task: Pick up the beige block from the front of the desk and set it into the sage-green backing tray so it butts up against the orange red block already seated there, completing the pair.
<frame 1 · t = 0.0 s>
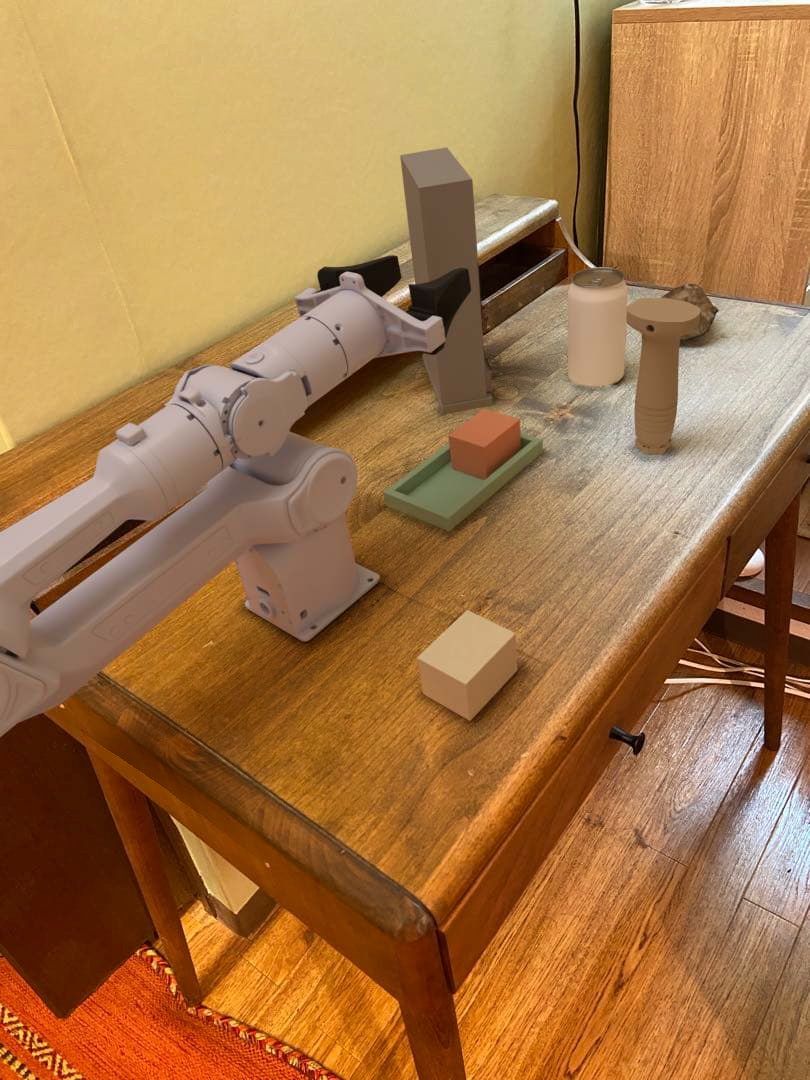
hand: (430, 272, 70), 22 cm above the table, tool horizontal, fingers open, 7 cm apart
tall grey pillar: (457, 387, 99), on the table
orange red block: (486, 460, 84), resting on backing tray
handle: (652, 452, 83), on the table
can: (595, 377, 97), on the table
backing tray: (466, 481, 83), on the table
beige block: (470, 682, 62), on the table
fossilized seashell: (679, 332, 103), on the table
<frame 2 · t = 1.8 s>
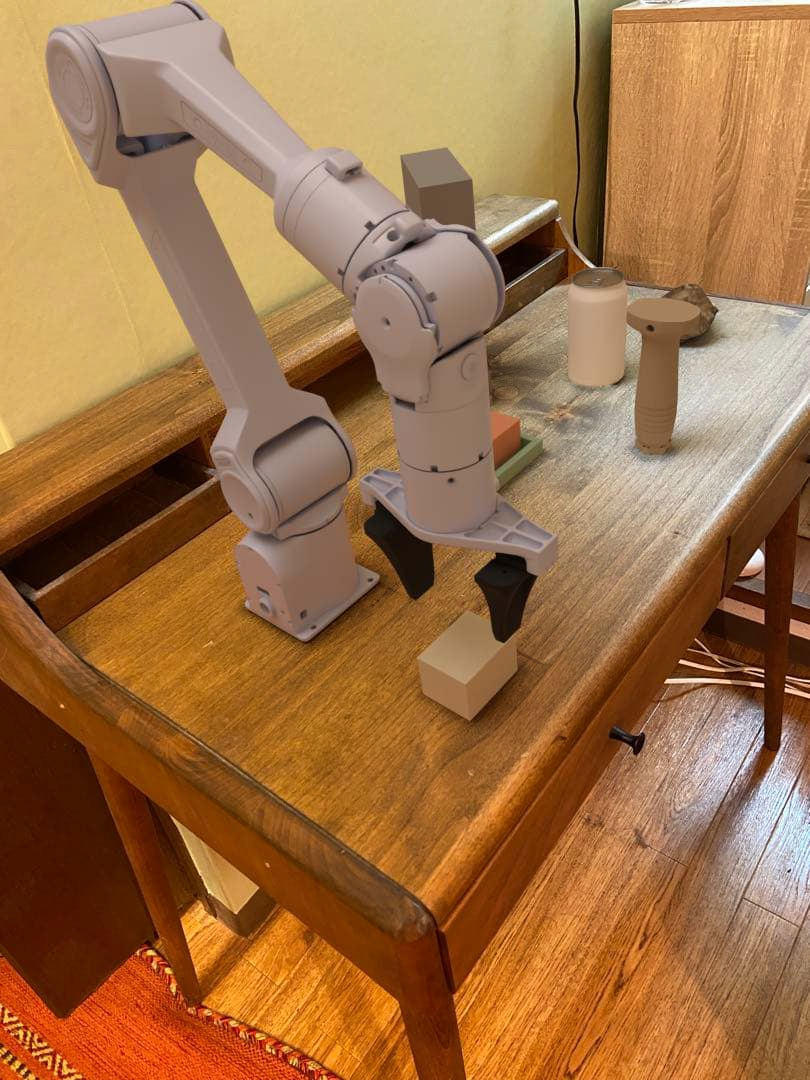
hand: (463, 611, 57), 7 cm above the table, tool pointing down, fingers open, 7 cm apart
nothing on the table moved.
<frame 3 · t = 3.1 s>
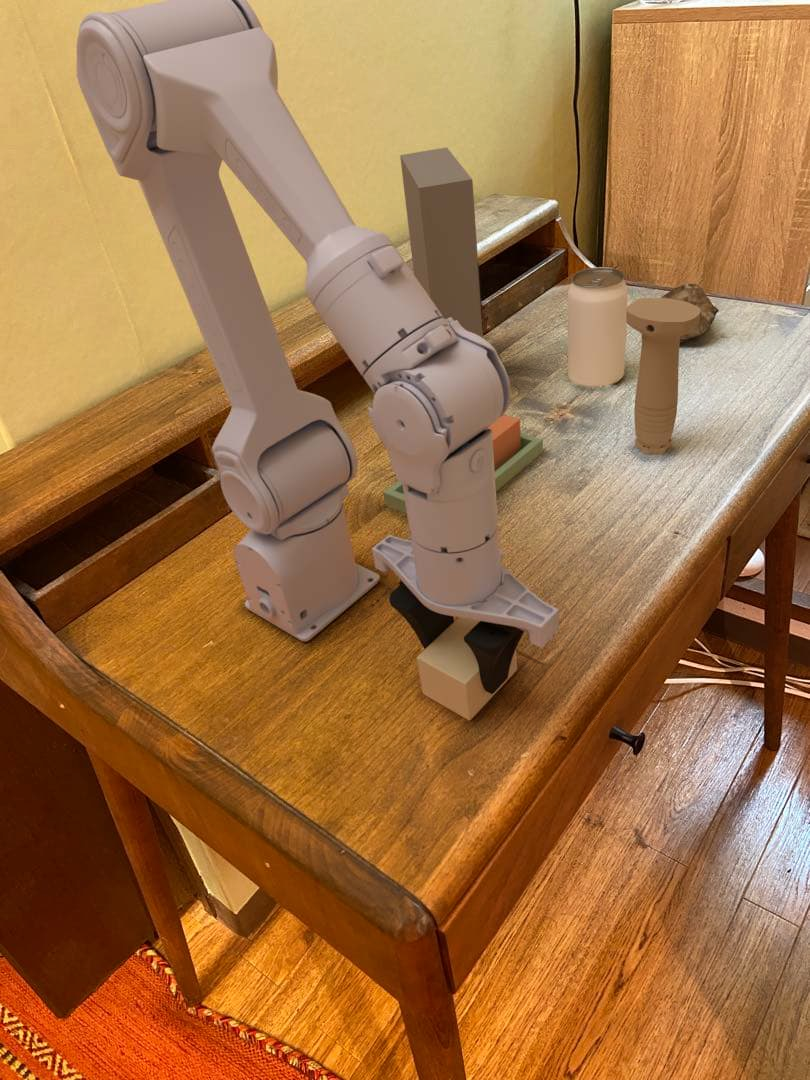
hand: (469, 669, 61), 1 cm above the table, tool pointing down, fingers closed on beige block, 4 cm apart
beige block: (470, 681, 62), on the table, touching gripper
everything else where it was.
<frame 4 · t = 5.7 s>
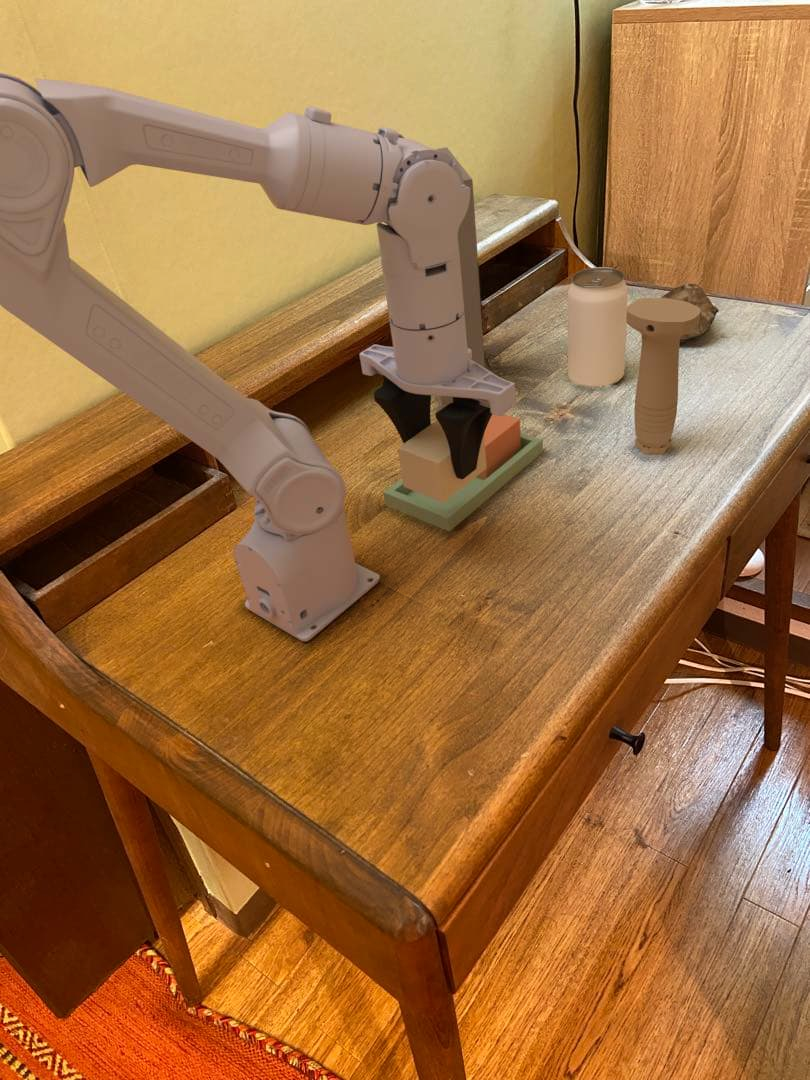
hand: (443, 464, 70), 8 cm above the table, tool pointing down, fingers closed on beige block, 4 cm apart
beige block: (445, 477, 71), point 7 cm above the table, touching gripper
everything else where it was.
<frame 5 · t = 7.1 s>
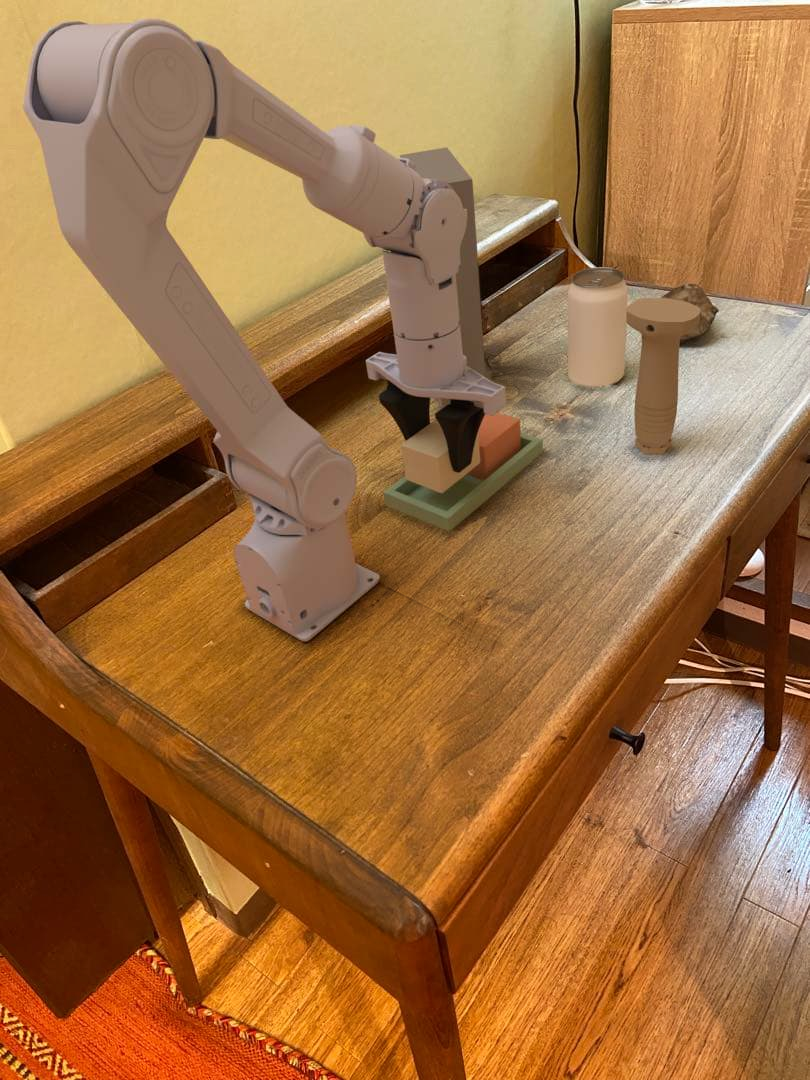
hand: (441, 459, 78), 4 cm above the table, tool pointing down, fingers closed on beige block, 4 cm apart
beige block: (443, 471, 79), point 3 cm above the table, touching gripper
everything else where it was.
when the fingers open (2 cm above the table, at t = 8.6 s): beige block stays where it is, resting on backing tray.
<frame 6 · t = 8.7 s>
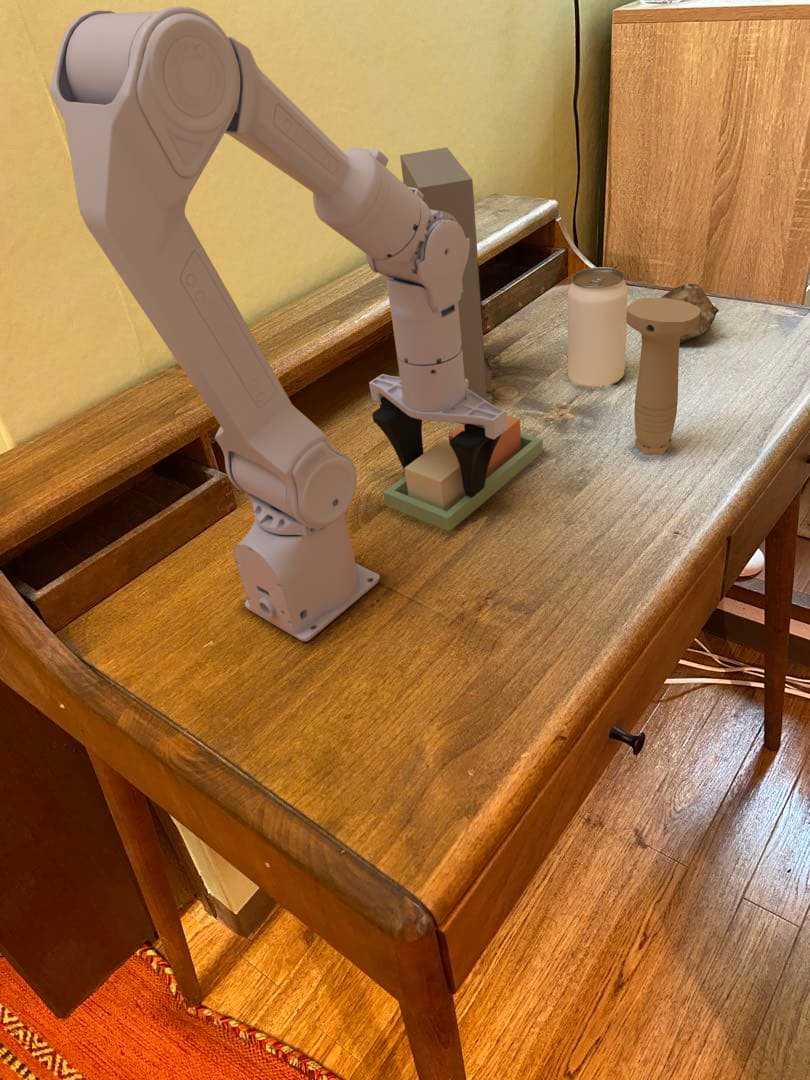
hand: (443, 479, 80), 2 cm above the table, tool pointing down, fingers open, 7 cm apart
beige block: (445, 493, 81), resting on backing tray
everything else where it was.
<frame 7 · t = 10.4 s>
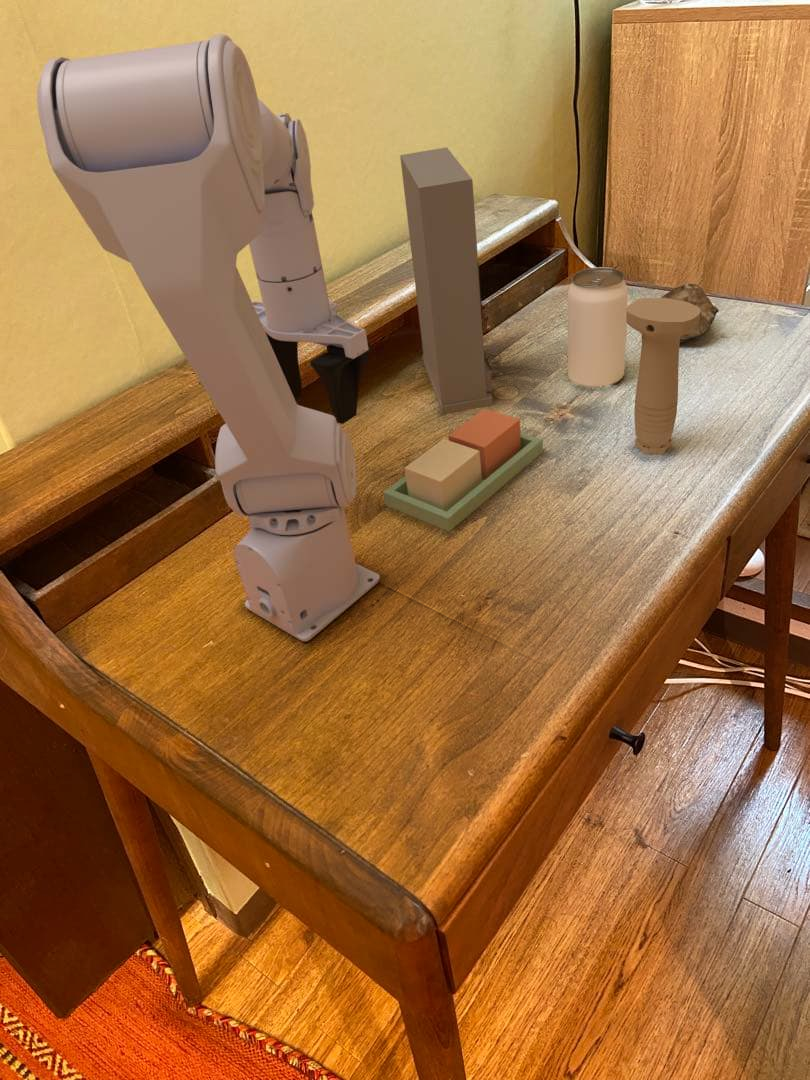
hand: (318, 408, 79), 9 cm above the table, tool pointing down, fingers open, 7 cm apart
nothing on the table moved.
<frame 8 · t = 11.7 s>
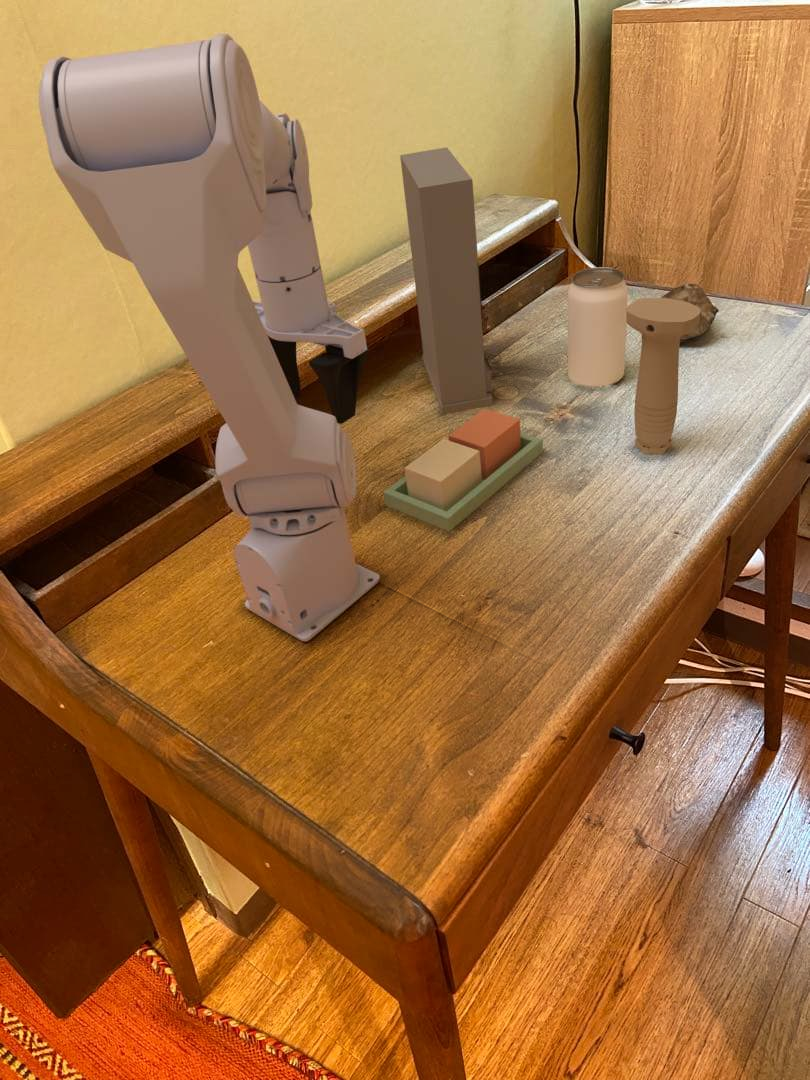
hand: (317, 408, 79), 9 cm above the table, tool pointing down, fingers open, 7 cm apart
nothing on the table moved.
at the end: beige block 0.6 cm from the target spot in the backing tray, point 0.5 cm above the backing tray's base; beige block 6.7 cm from the orange red block (horizontally); beige block tilted 0° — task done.
